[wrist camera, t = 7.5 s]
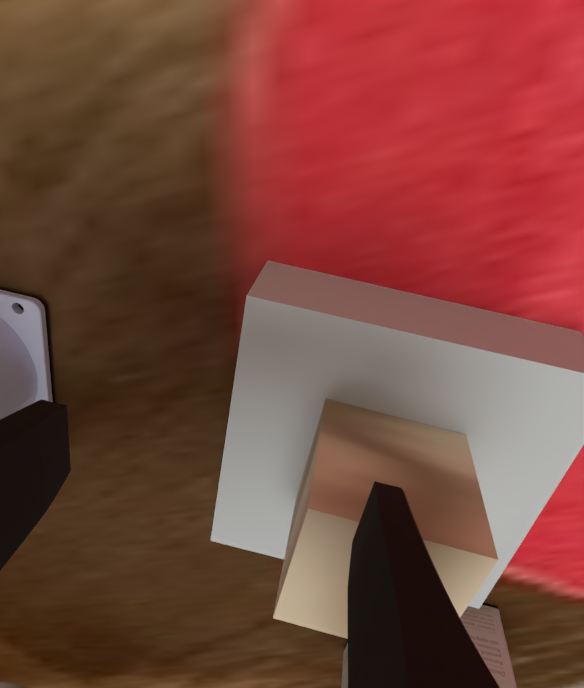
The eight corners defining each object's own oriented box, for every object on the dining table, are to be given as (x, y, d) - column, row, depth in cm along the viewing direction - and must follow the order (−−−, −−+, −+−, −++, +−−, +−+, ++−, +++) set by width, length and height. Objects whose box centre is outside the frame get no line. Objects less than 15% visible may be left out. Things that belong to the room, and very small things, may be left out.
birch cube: (296, 497, 19) (272, 617, 15) (325, 398, 17) (308, 508, 12) (418, 530, 19) (430, 661, 15) (466, 435, 17) (498, 559, 12)
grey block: (233, 476, 25) (210, 540, 21) (270, 256, 19) (246, 295, 15) (464, 533, 24) (479, 608, 21) (575, 325, 18) (623, 382, 15)
